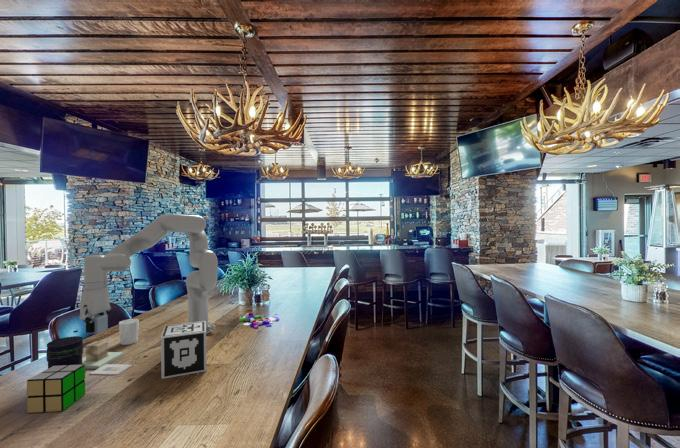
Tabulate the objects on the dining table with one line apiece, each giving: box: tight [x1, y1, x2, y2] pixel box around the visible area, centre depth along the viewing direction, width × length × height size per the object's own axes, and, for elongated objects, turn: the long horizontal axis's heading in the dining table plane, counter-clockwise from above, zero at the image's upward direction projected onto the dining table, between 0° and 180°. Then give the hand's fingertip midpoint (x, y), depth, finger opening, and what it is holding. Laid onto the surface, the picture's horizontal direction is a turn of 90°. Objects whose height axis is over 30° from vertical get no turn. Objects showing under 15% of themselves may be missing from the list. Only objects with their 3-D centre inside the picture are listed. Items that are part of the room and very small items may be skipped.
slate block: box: [85, 314, 109, 335], centre depth 131 cm, size 5×5×6 cm
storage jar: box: [46, 330, 84, 369], centre depth 113 cm, size 10×10×18 cm
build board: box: [82, 351, 125, 370], centre depth 131 cm, size 13×13×1 cm
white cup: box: [118, 318, 140, 346], centre depth 152 cm, size 8×8×10 cm
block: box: [160, 321, 208, 380], centre depth 126 cm, size 15×15×15 cm
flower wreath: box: [239, 312, 280, 330], centre depth 184 cm, size 25×20×4 cm
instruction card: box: [89, 363, 133, 376], centre depth 123 cm, size 11×8×1 cm
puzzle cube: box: [26, 365, 86, 414], centre depth 100 cm, size 10×10×10 cm
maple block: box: [85, 340, 109, 361], centre depth 131 cm, size 5×5×6 cm
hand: (96, 329), depth 131 cm, fingers closed on slate block, 5 cm apart
